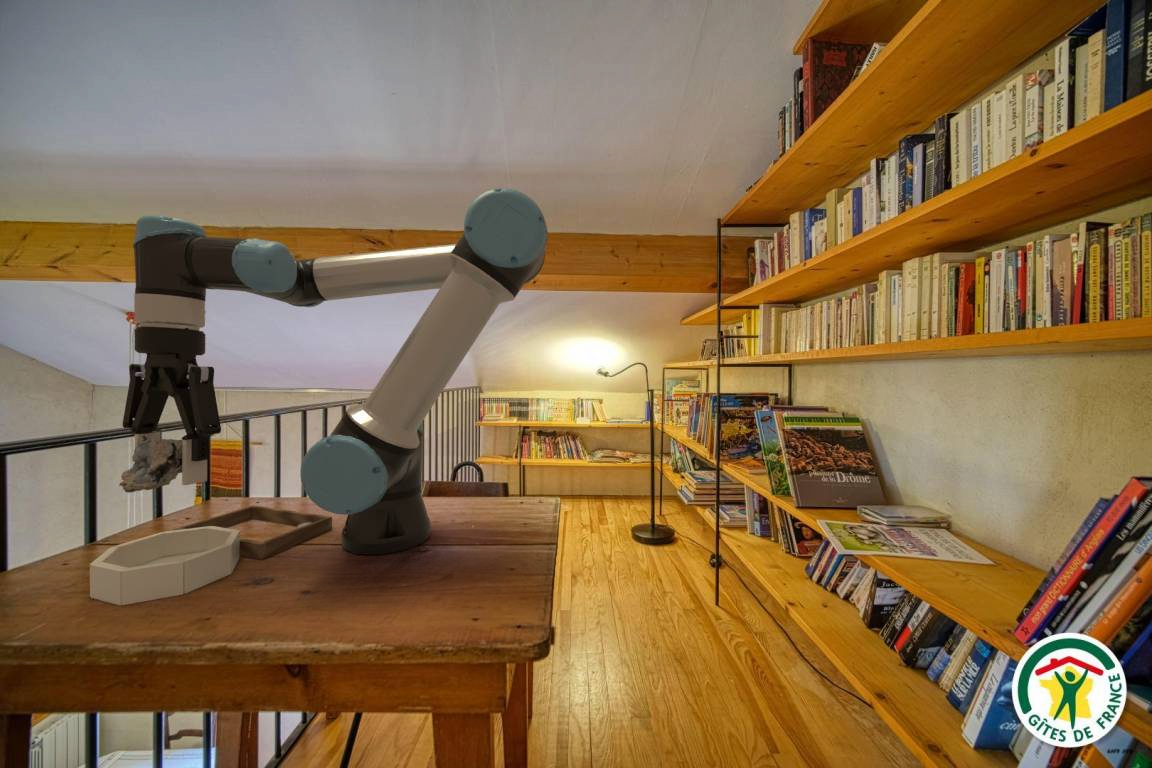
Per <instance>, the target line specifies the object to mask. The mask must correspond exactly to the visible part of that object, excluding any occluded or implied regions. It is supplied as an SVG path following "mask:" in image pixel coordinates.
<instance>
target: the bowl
mask: <svg viewBox="0 0 1152 768" xmlns="http://www.w3.org/2000/svg"><path fill="white" fill-rule="evenodd" d="M240 533H241V531H240V529H233V528H229V527H226V528H222V527H216V526H207V527H199V528H191V529H182V530H174V529H173V530H166V531H161V532H158V533H157V532H156V533H155V534H151V535H147V536H143V537H141V538H137V539H134V540H131V541H127V542H123V543H120V544H118V545H114V546H111V547H109V548H108V549H107V550H105V551H103V552H102V554H100V555H99V556H98V557H97V558H96V559H94V560H93V561H92V562H91V563H89V598H90V597H91V598H90V599H93V598H94V599H93V600H97V599H98V601H101V602H105V603H109V604H113V605H116V606H126V605H132V604H137V603H143V602H147V601H154V600H160V599H165V598H171V597H176V596H182V595H186V594H188V593H191V592H193V591H196V590H197V589H199V588H202V587H204V586H206V585H209V584H211V583H213V582H216V581H218V580H221V579H223V578H225V577H227V576H229V575H231V574H233V572H234V570H235V568H236V566H237V565H238V563H239V560H240V557H241V556H240V538H241V535H240Z"/></svg>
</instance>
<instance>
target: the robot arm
mask: <svg viewBox="0 0 1152 768" xmlns="http://www.w3.org/2000/svg"><path fill="white" fill-rule="evenodd" d="M134 232H135V233H134V242H133V243H132V246H133V247H132V248H133V252H134V272H135V273H134V275H135V289H134V297H133V299H134V300H133V301H134V303H133V304H134V308H133V310H134V313H133V314H134V315H133V316H134V322H135V323H137V324H139V326H137V327H136V328H135V329H134V351H135V352H136V353H139V354H146V360H145V362H144V363H131V364H129V367H128V368H129V369H128V370H129V371H128V372H129V383H128V391H127V394H126V395H127V396H126V401H125V408H124V413H123V419H122V427H123V429H130V432H131V433H132V434H134V449H135V448H136V447H137V446H138V445H137V442H138V440H137V439H138V438H140V437H142V436H147V435H150V436H155V437H157V439H161V431H162V428H161V427H160V426H159V422H160V420H161V418H162V414H163V411H164V409H165V406H166V404H167V401H168V399H169V397H172V399H173V400H174V402H175V405H176V408H177V411H178V414H179V416H180V419H181V423H182V425H183V428H184V430H185V433H186V435H183V436H181V440H182V473H181V485H182V486H189V485H194V484H198V483H199V484H200V483H204V482H207V481H208V457H209V438H211V437H212V436H214V435H217V434H218V435H219V434H220V433H221V432H222V426H221V420H220V415H219V414H220V413H219V409H218V401H217V397H216V391H215V385H214V379H215V378H214V377H215V368H214V367H213V366H200V365H199V364H198V361H197V356H203V355H205V353H206V333H205V332H204V331H201V330H200V329H202V328H204V327H205V326H206V296H207V290H222V291H225V290H226V291H238V292H246V293H249V294H254V295H257V296H261V297H264V298H267V299H272V300H275V301H279V302H283V303H286V304H288V305H291V306H294V307H298V308H299V307H301V308H304V307H305V308H314V307H316V306H319V305H321V304H322V303H324V302H325V301H327V302H328V301H335V300H344V299H345V300H346V299H354V298H362V297H363V298H364V297H371V296H372V297H373V296H374V297H375V296H382V295H391V294H399V293H401V294H402V293H408V292H409V293H411V292H419V291H427V290H438V291H437V292H436V294H435V296H434V297H433V299H432V300H431V301H430V304H429V305H428V306H427V308H426V310H425V311H424V312H423V314H422V315H421V317H420V319H419V320H418V322H416V325H415V326H414V327H413V329H412V331H411V332H410V334H409V335H408V336H407V338H406V340H405V341H404V342H403V344H402V345H401V347H400V349H399V350H398V352H397V354H396V355H395V356H394V358H393V359H392V361H391V362H390V364H389V366H388V367H387V369H386V370H385V371H384V373H383V374H382V376H381V377H380V379H379V380H378V382H377V384H376V385H375V386H374V388H373V390H372V391H371V393H370V395H369V396H368V397H367V399H366V400H365V402H363V403H359V404H354V405H351V406H349V407H348V408H347V409H346V411H345V412H344V413H343V415H342V417H341V418H340V420H339V422H338V423H337V424H336V426H335V428H334V429H333V431H332V432H331V434H330V435H329V436H326V437H323V438H321V439H320V440H318V441H317V442H316V443H315V444H313V445H312V446H311V447H310V448H309V449H308V450H307V452H306V453H305V455H304V457H303V459H302V460H301V466H300V481H301V483H302V485H303V488H304V489H303V490H304V492H305V494H306V496H307V497H308V498H309V499H310V500H311V501H312V502H313V503H314V504H315V505H316V506H317V507H318V508H320V509H322V510H324V511H326V512H328V513H331V514H334V515H335V514H336V515H345V516H346V515H347V516H346V521H345V525H343V529H342V531H341V547H342V548H343V549H344V550H345V551H347V552H350V553H353V554H358V555H384V554H391V553H392V554H393V553H397V552H402V551H405V550H409V549H411V548H413V547H417V546H418V545H421V544H422V543H424V542H425V541H427V539H429V537H430V536H431V519H430V517H429V515H428V512H427V508H426V505H425V501H424V498H423V495H422V481H423V478H422V476H423V475H422V474H423V473H422V470H423V468H422V467H423V436H424V431H423V421H424V420H425V418H426V417H427V415H429V412H430V411H431V409H432V408H433V406H434V405H435V403H436V401H437V400H438V399H439V397H440V395H441V394H442V392H443V391H444V389H445V388H446V387H447V384H449V381H450V380H451V379H452V377H453V376H454V374H455V372H456V371H457V370H458V368H459V366H460V365H461V363H462V362H463V361H464V359H465V357H466V355H467V354H468V352H469V351H470V349H471V348H472V347H473V345H474V343H475V342H476V341H477V339H478V337H479V335H480V334H481V333H482V331H483V330H484V328H485V326H486V325H487V324H488V322H489V320H490V319H491V317H492V315H494V313H495V311H496V310H497V309H498V307H499V305H500V304H502V303H507V302H512V301H515V298H516V297H517V296H518V295H519V292H520V291H521V289H522V288H523V287H524V285H526V284H528V283H530V282H531V281H532V280H534V279H535V278H537V276H538V275H539V273H540V272H541V271H542V268H543V266H544V263H545V259H546V246H547V243H548V236H549V234H548V233H549V232H548V226H547V222H546V220H545V216H544V214H543V212H542V210H541V208H540V207H539V205H538V204H537V202H535V200H534V199H532V198H531V197H530V196H528V195H527V194H526V193H524V192H522V191H519V190H517V189H513V188H507V187H503V188H493V189H489V190H487V191H485V192H482V193H481V194H480V195H478V196H477V197H475V199H474V200H473V201H472V202H471V203H470V205H469V207H468V208H467V210H466V214H465V217H464V221H463V234H462V235H461V237H460V238H459V240H458V241H457V242H456V243H451V244H450V243H449V244H442V245H432V246H422V247H421V246H420V247H412V248H401V249H400V248H399V249H392V250H391V249H390V250H383V251H381V250H380V251H373V252H362V253H352V254H344V255H343V254H341V255H333V256H323V257H322V256H321V257H316V258H304V259H295V256H294V255H293V254H292V253H291V252H290V250H289V248H288V247H287V246H286V245H285V244H284V243H281V242H280V241H279V242H278V241H273V240H264V239H262V238H255V237H254V238H232V237H214V236H213V237H212V236H210V237H209V236H207V233H206V231H205V229H204V227H202V226H200V225H199V224H197V223H194V222H191V221H188V220H185V219H181V218H178V217H177V218H176V217H168V216H165V215H158V214H157V215H156V214H154V215H153V214H150V215H144V216H141V217H139V218H138V220H137V221H136V225H135V231H134Z"/></svg>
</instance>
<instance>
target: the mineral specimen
mask: <svg viewBox="0 0 1152 768" xmlns="http://www.w3.org/2000/svg"><path fill="white" fill-rule="evenodd" d="M137 440H138V442H137V445H138V446H137V447H136V448H135V447H134V449H133V452H134V453H133V454H132V458H131V459H132V462H133V465H132V467H131V468H130V469H126V470H125V471H123V472H122V473H121V480H122V481H121V482H119V485H118V486H119V487H122V490H123V491H124V492H125V493H129V494H130V493H135V492H141V491H143V490H144V491H151V490H153V489H159V488H160V487H164V486H167V485H168V486H169V485H170V483H171V481H173V480H176V479H177V476H178V475H179V474H182V439H172V438H169V439H165V438H160V439H157V437H155V436H150V435H147V436H142V437H140V438H138V439H137Z"/></svg>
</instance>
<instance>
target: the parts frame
mask: <svg viewBox="0 0 1152 768" xmlns="http://www.w3.org/2000/svg"><path fill="white" fill-rule="evenodd" d="M251 520H257V521H264V522H269V523H276V524H284V525H288V526H295V527H297V526H298V525H300V524H303V523H308V522H313V523H310V524H308V525H305V526H302V527H300V528H295V529H293V530H290V531H287V532H285V533H282V534H280V535H277V536H274V537H272V538H269V539H267V540H265V541H258V540H253V539H252V540H251V539H246V538H243V537H242V538H241V537H240V555H242V556H241V557H244V556H246V558H251V559H255V560H265V559H266V558H269V557H271V556H273V555H276V554H278V553H280V552H282V551H285V550H287V549H290V548H291V547H295V546H296V545H299V544H301V543H303V541H304V542H305V541H306V542H307V541H308V540H311V539H313V538H315V537H317V536H320V535H322V534H325V533H327V532H330V531H331V530H333V516H330V515H329V516H328V515H322V514H315V513H309V512H301V511H295V510H290V509H289V510H288V509H280V508H274V507H269V506H267V507H266V506H260V505H254V504H253V505H250V506H247V507H244V508H240V509H237V510H234V511H230V512H226V513H224V514H219V515H216V516H213V517H210V518H207V519H203V520H199V521H195V522H192V523H190V524H186V525H183V526H180V527H176V528H174V529H173V531H174V530H182V529H191V528H199V527H207V526H216V527H222V528H229V527H233V526H235V525H239V524H241V523H244V522H247V521H251Z"/></svg>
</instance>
